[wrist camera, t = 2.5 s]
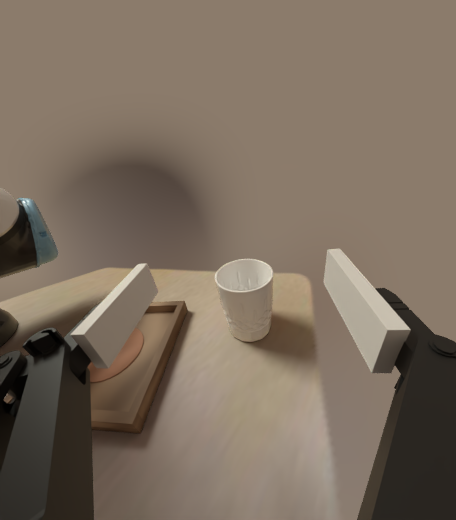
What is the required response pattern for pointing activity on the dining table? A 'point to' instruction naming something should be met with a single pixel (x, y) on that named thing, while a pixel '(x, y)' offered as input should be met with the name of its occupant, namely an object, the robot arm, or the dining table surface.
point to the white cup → (246, 297)
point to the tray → (134, 370)
